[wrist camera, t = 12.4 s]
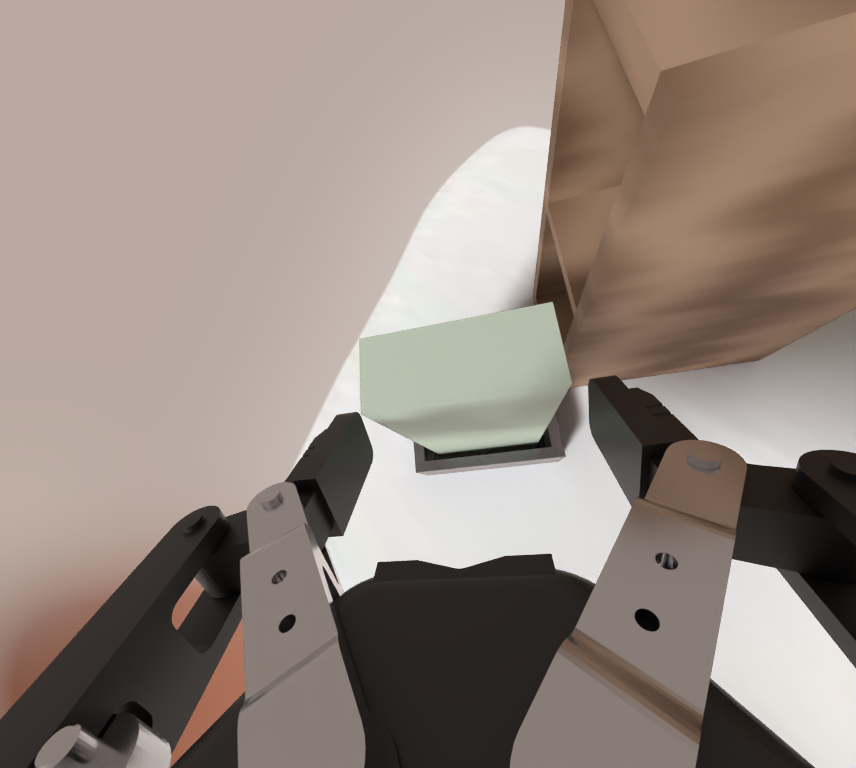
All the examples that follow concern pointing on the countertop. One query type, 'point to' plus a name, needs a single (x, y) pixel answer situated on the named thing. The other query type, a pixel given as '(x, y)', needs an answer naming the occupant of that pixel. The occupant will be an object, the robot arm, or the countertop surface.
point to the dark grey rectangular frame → (493, 456)
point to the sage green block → (468, 381)
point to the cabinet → (698, 181)
